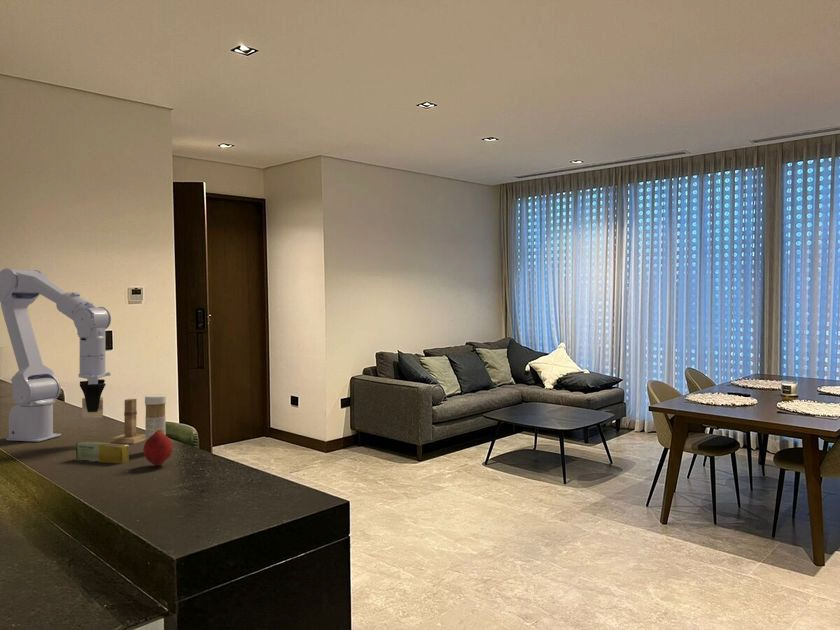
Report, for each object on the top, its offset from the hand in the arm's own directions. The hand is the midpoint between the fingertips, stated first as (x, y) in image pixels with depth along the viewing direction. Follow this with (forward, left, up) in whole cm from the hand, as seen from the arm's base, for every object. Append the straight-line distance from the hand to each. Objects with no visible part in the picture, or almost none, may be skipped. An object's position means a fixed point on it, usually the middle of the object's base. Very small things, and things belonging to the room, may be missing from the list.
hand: (92, 410), depth 156 cm
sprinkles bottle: (+20, -5, -9) cm, 22 cm away
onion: (+28, -17, -9) cm, 34 cm away
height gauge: (+7, +5, -8) cm, 12 cm away
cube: (0, 0, -2) cm, 2 cm away
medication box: (+13, -15, -9) cm, 22 cm away
